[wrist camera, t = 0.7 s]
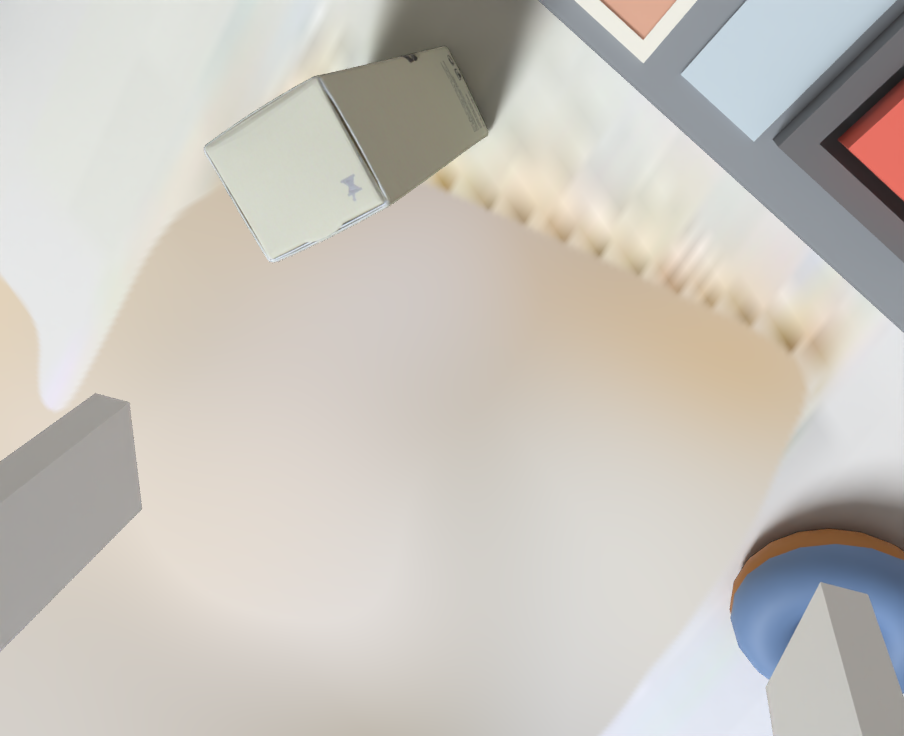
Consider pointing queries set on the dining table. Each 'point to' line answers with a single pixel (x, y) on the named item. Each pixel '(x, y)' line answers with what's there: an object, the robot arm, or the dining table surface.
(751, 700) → the dining table surface
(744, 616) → the doughnut
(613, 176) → the dining table surface
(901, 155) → the button
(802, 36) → the picture board
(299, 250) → the box
